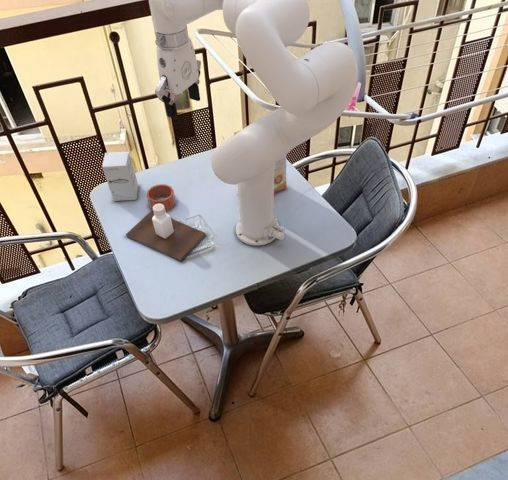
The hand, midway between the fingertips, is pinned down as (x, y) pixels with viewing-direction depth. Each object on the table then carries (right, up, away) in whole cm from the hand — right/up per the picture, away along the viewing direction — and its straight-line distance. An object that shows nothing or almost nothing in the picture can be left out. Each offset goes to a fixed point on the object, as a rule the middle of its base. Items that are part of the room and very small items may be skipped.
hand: (184, 108), depth 121 cm
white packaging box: (-22, -15, +26) cm, 37 cm away
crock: (-10, -18, +22) cm, 30 cm away
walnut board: (-7, -30, +14) cm, 34 cm away
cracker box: (+21, -14, +24) cm, 35 cm away
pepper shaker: (-7, -30, +13) cm, 33 cm away
